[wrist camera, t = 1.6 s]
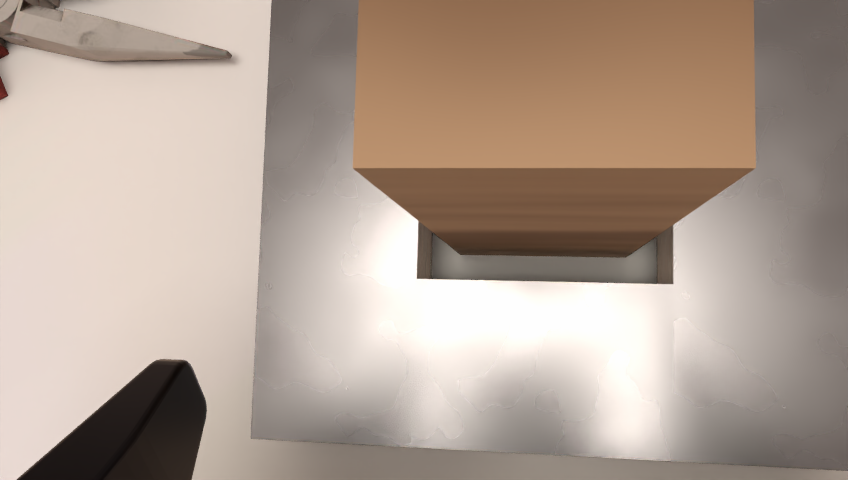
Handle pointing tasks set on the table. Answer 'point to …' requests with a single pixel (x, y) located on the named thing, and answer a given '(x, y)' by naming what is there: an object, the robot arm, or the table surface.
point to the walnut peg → (553, 117)
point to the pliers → (89, 36)
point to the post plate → (560, 288)
